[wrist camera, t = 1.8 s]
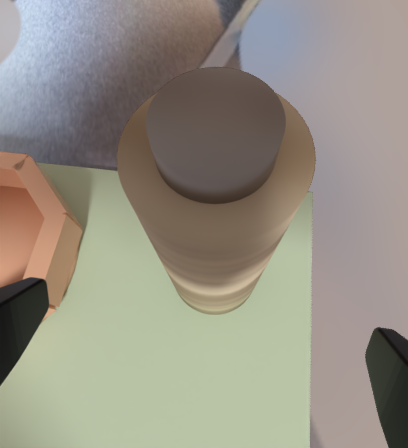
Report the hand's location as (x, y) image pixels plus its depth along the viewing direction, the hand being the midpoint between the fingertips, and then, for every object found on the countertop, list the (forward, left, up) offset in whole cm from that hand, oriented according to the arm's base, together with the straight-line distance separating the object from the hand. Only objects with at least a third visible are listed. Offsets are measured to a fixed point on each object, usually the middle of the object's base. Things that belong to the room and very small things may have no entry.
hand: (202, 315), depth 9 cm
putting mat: (+1, +8, -11) cm, 14 cm away
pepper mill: (+4, 0, -11) cm, 11 cm away
